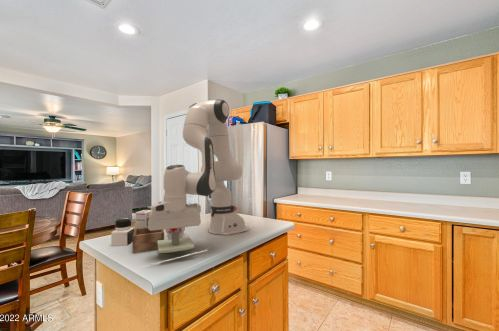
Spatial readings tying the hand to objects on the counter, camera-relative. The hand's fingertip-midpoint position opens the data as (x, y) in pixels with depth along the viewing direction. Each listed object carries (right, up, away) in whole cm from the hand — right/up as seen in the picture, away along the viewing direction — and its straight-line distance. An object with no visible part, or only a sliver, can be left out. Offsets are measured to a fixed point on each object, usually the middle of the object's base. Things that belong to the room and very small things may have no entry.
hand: (175, 238), depth 92 cm
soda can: (-8, -7, +24) cm, 26 cm away
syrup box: (-21, -7, +19) cm, 29 cm away
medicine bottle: (-28, -7, +13) cm, 32 cm away
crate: (-14, -7, +8) cm, 18 cm away
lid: (0, -4, 0) cm, 4 cm away
